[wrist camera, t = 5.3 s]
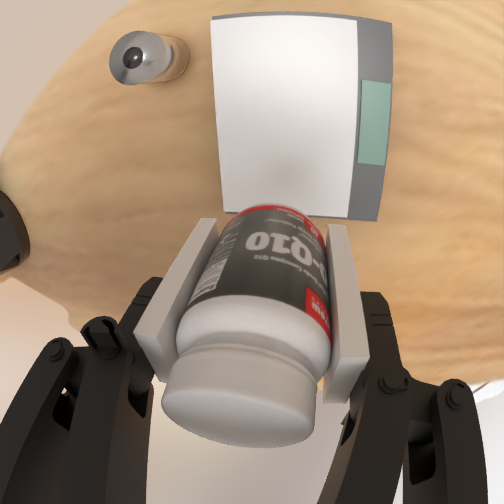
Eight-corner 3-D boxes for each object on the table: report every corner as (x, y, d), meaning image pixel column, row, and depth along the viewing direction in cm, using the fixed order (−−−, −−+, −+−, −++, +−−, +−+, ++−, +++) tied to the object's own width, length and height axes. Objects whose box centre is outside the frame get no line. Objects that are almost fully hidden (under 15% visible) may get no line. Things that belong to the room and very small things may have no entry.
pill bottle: (346, 240, 12) (372, 426, 5) (283, 300, 15) (262, 459, 8) (257, 177, 11) (187, 354, 4) (204, 253, 14) (132, 410, 7)
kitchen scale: (230, 204, 28) (224, 216, 26) (218, 20, 18) (209, 15, 16) (372, 211, 26) (377, 224, 24) (384, 26, 16) (394, 21, 14)
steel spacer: (148, 84, 22) (111, 90, 17) (145, 42, 19) (107, 39, 14) (191, 77, 21) (161, 79, 16) (188, 33, 19) (157, 24, 14)
